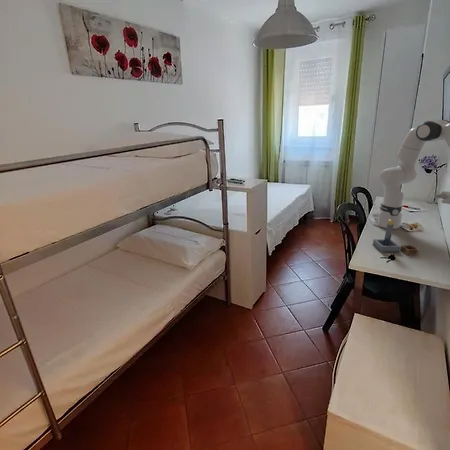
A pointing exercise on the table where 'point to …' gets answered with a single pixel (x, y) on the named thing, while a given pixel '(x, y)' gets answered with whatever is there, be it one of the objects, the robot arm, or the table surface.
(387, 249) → the tray
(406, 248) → the collar
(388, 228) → the pin
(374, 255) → the table surface
